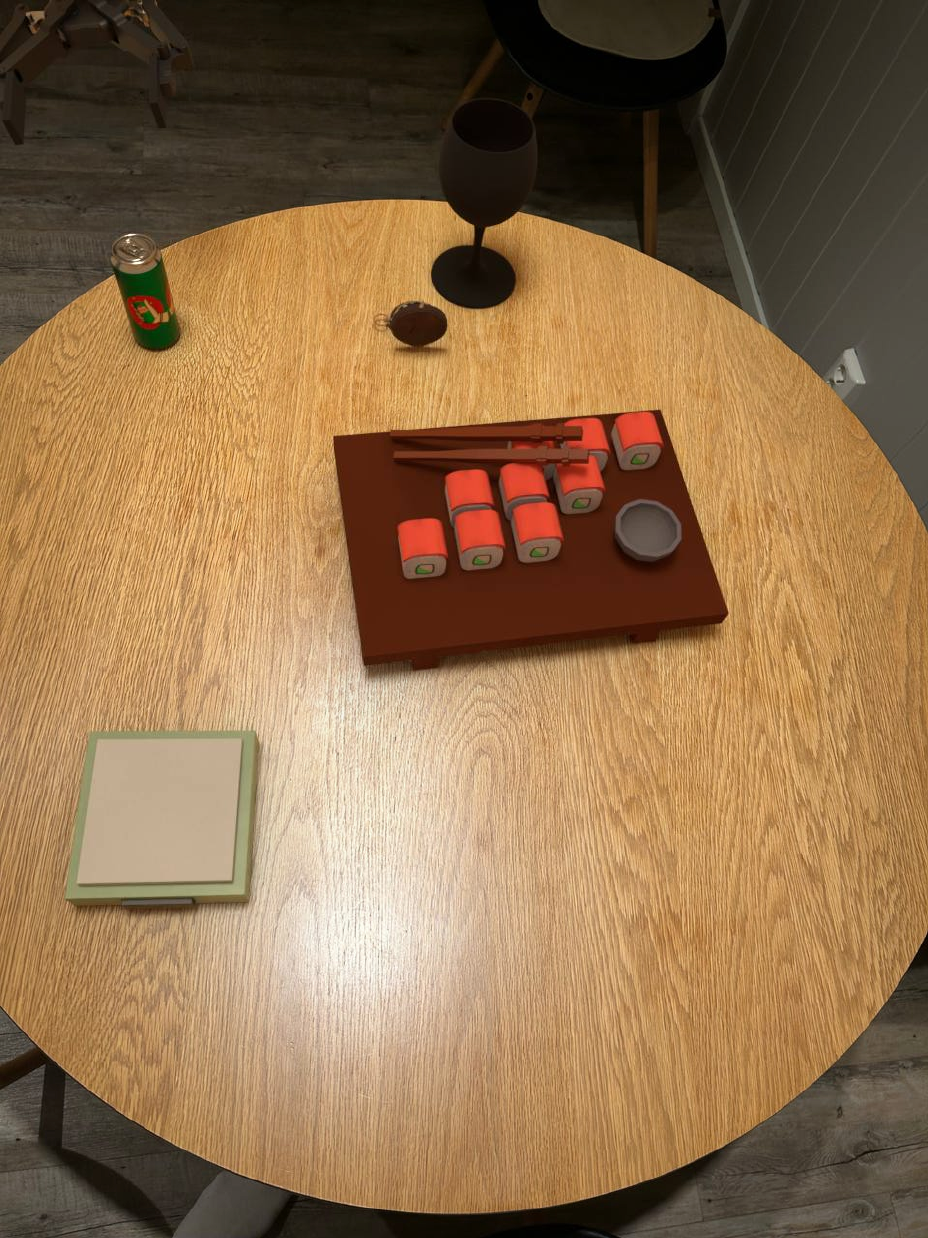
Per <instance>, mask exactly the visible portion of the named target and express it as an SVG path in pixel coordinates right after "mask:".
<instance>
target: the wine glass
mask: <svg viewBox="0 0 928 1238" xmlns="http://www.w3.org/2000/svg"><path fill="white" fill-rule="evenodd" d="M536 132H537V131H536V126H535V123H534V121H533V119H532V117H531V116H530V115H529V113H528V112H526V111H525V110H524V109H523V108H521V106H518V105H517V104H515V103H513V102H510V101H508V100H504V99H500V98H494V97H493V98H491V97H480V98H474V99H471V100H468V101H465V102H464V103H462V104H460V105H459V106H457V108H455V109H454V111H453V113H452V115H451V117H450V118H449V121H448V123H447V126H446V129H445V131H444V135H443V138H442V141H441V146H440V150H439V157H438V177H439V183H440V187H441V192H442V194H443V196H444V198H445V200H446V202H447V204H448V205H449V207H450V208H451V210H452V211H453V212H454V213H455V214H456V215H457V216H458V217H459V218H461V220H463V221H465V222H466V223H468V224H470V225H472V226H473V244H462V245H455V246H453V247H450V248H448V249H446V250H444V251H443V252H441V253H440V254H439V255H438V256H437V257H436V258H435V260H434V261H433V263H432V265H431V270H430V278H431V283H432V285H433V287H434V288H435V290H436V292H437V293H438V294H439V295H440V296H442V297H443V298H444V299H445V300H446V301H448V302H450V303H452V304H454V305H456V306H458V307H463V308H467V309H478V310H479V309H487V308H492V307H495V306H498V305H500V304H501V303H504V302H505V301H506V300H508V299H509V297H510V296H511V295H512V294H513V292H514V290H515V288H516V282H517V276H516V272H515V269H514V267H513V265H512V264H511V262H510V261H509V260H508V259H507V258H506V257H505V256H504V255H503V254H501V253H500V252H499V251H496V250H494V249H492V248H490V247H486V246H483V240H484V235H485V231H486V229H487V228H491V227H495V226H498V225H500V224H503V223H505V222H507V221H508V220H510V219H512V218H513V217H515V215H516V214H517V213H518V212H520V210H522V208H523V206H524V205H525V203H526V202H527V200H528V199H529V197H530V195H531V193H532V190H533V187H534V184H535V180H536V176H537V168H538V141H537V140H538V139H537V133H536Z"/></svg>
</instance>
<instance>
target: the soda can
mask: <svg viewBox="0 0 928 1238" xmlns="http://www.w3.org/2000/svg"><path fill="white" fill-rule="evenodd" d="M109 257H110V258H109V259H110V265H111V268H112V270H113V273H114V274H113V275H114V277H115V281H116V284H117V287H118V290H119V294H120V297H121V300H122V303H123V307H124V310H125V314H126V317H127V320H128V323H129V326H130V329H131V332H132V333H131V334H132V336H133V339H134V340H135V341H136V342H137V343H138V344H139V345H141V346H142V347H145V348H148V349H151V350H160V349H164V348H167V347H169V346H171V345H173V344H174V343H175V342H176V341H177V339H178V338H179V336H180V331H181V327H180V324H179V319H178V315H177V311H176V306H175V303H174V299H173V295H172V291H171V286H170V283H169V278H168V275H167V271H166V266H165V262H164V259H163V254H162V251H161V249H160V248H159V246H158V245H156V243H155V241H154V240H153V239H152V238H151V237H149V236H148V235H145V234H140V233H129V234H125V235H121V236H120V237H118V238H117V239H116V240H115V241H114V242H113V244H112V246H111V253H110V256H109Z"/></svg>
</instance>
